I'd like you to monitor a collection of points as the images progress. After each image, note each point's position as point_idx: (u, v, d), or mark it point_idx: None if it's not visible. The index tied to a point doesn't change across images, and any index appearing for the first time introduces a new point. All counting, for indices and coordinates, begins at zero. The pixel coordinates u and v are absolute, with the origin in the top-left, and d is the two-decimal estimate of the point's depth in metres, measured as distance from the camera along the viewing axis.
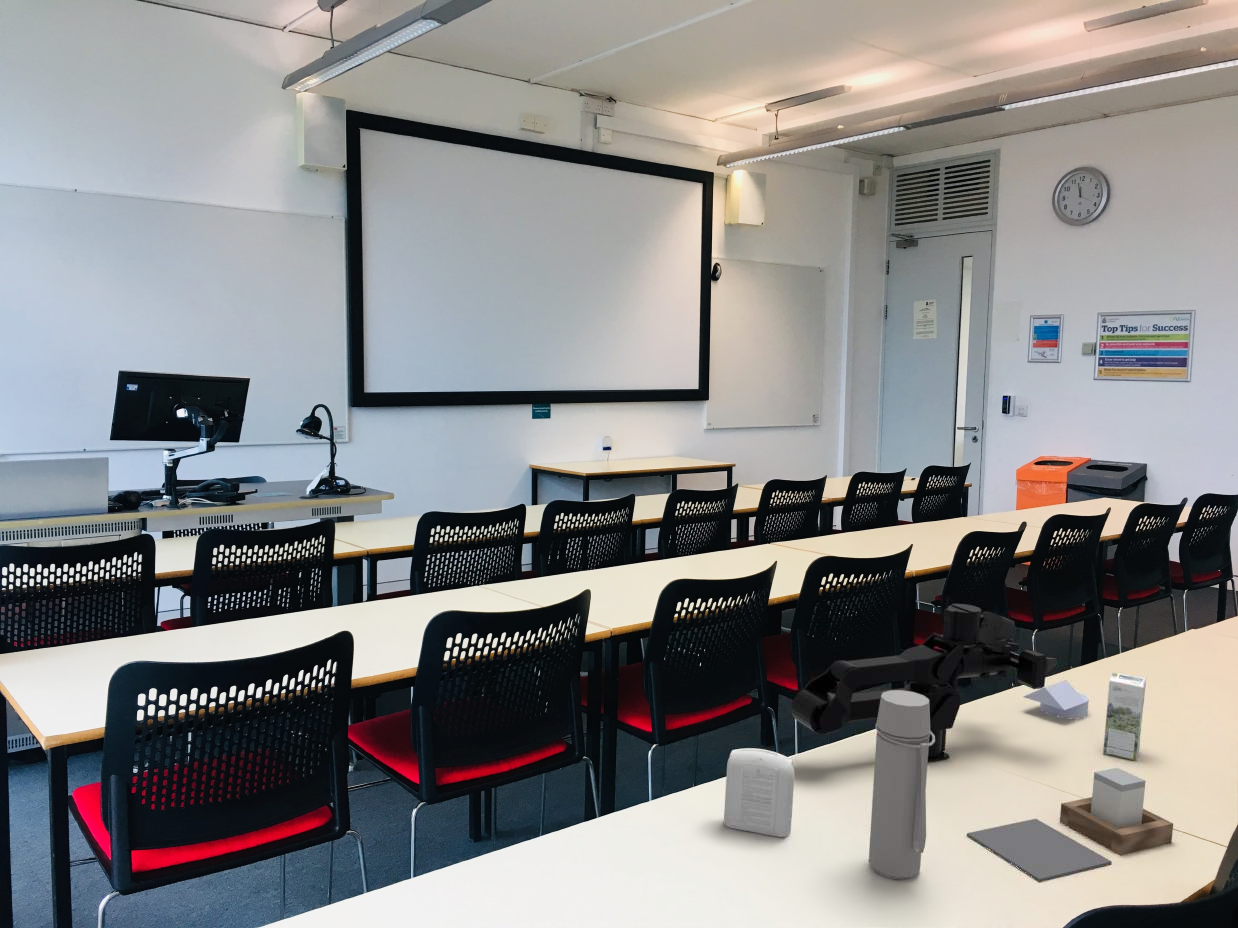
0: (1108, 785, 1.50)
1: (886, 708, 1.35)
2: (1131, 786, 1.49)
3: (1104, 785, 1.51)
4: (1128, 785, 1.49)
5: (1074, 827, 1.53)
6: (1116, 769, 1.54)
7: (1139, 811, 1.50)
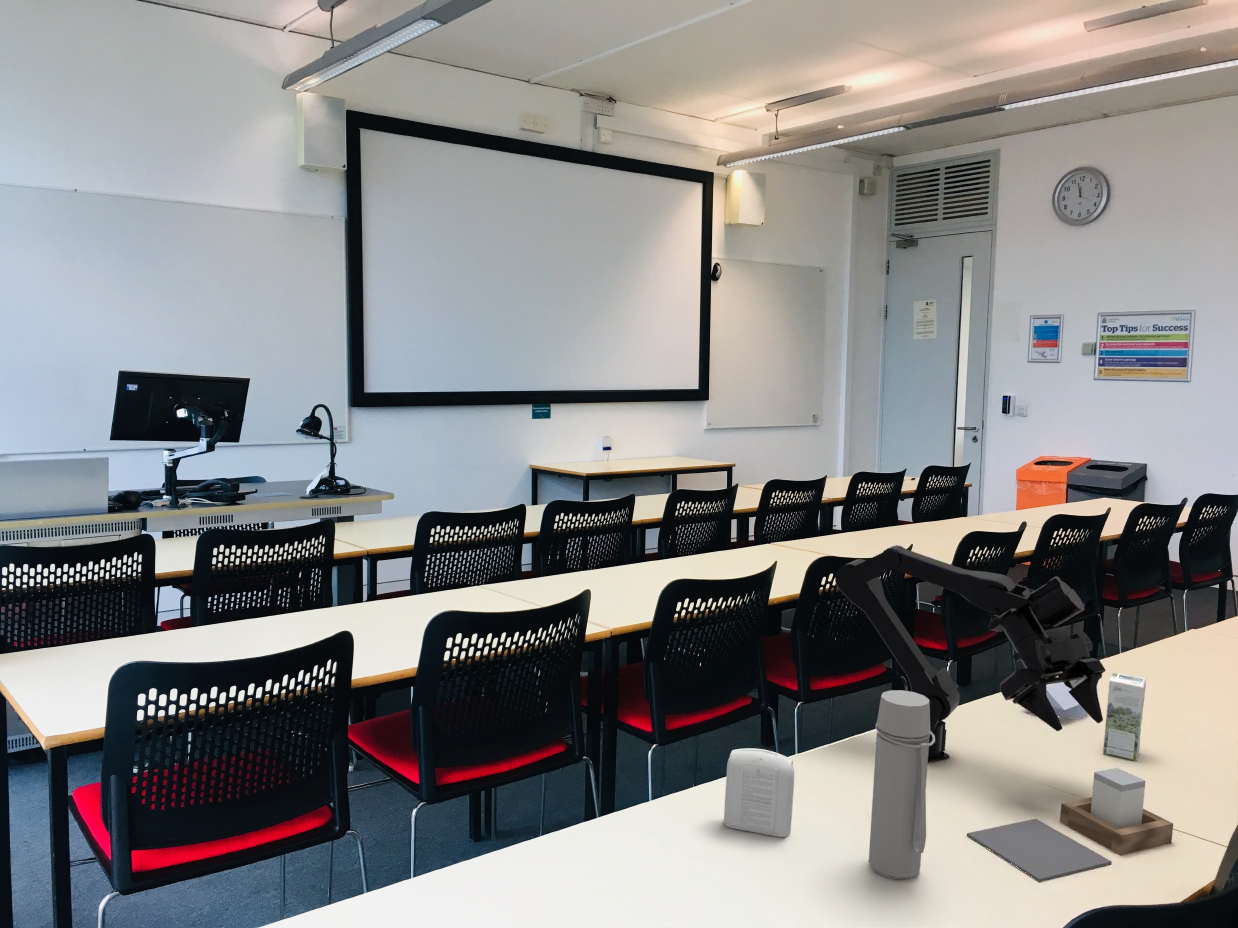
0: (1108, 785, 1.50)
1: (886, 708, 1.35)
2: (1131, 786, 1.49)
3: (1104, 785, 1.51)
4: (1128, 785, 1.49)
5: (1074, 827, 1.53)
6: (1116, 769, 1.54)
7: (1139, 811, 1.50)
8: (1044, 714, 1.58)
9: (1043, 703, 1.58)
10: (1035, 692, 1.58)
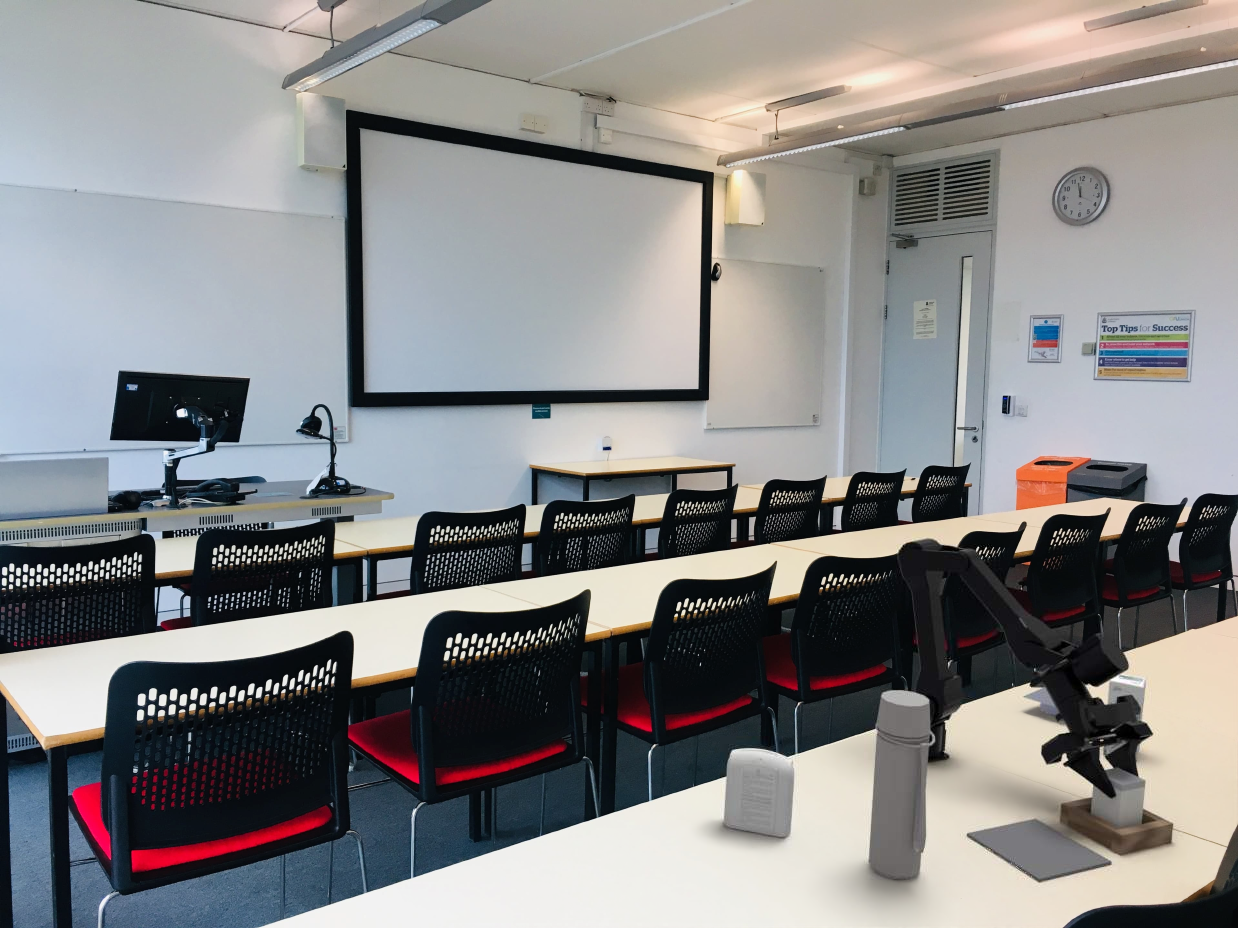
0: None
1: (886, 708, 1.35)
2: (1131, 786, 1.49)
3: None
4: (1128, 785, 1.49)
5: (1074, 827, 1.53)
6: (1116, 769, 1.54)
7: (1139, 811, 1.50)
8: (1097, 780, 1.51)
9: (1096, 768, 1.50)
10: (1088, 756, 1.51)
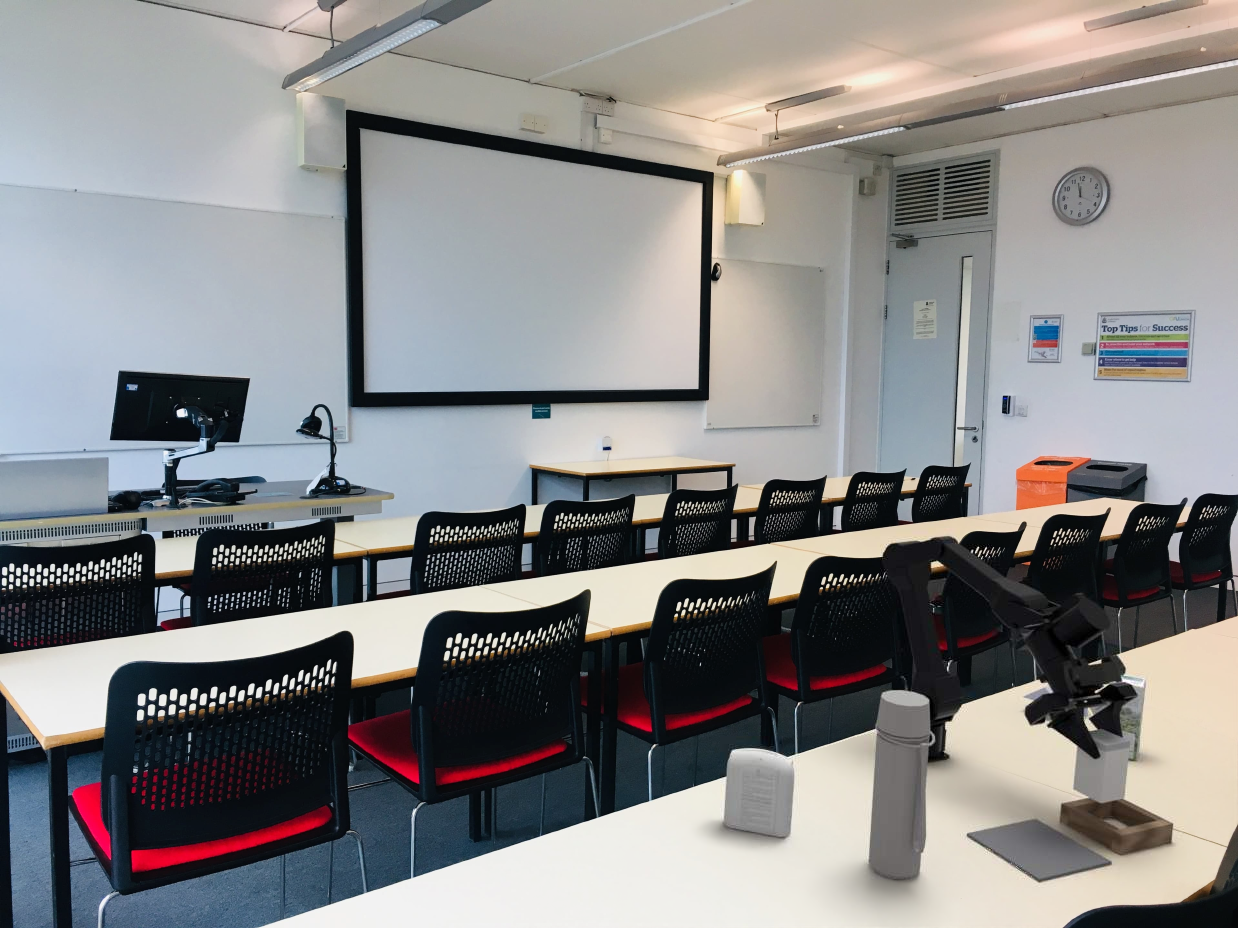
0: None
1: (886, 708, 1.35)
2: (1115, 746, 1.47)
3: None
4: (1113, 745, 1.46)
5: (1074, 827, 1.53)
6: (1100, 730, 1.52)
7: (1123, 772, 1.48)
8: (1081, 740, 1.48)
9: (1080, 729, 1.48)
10: (1072, 717, 1.49)
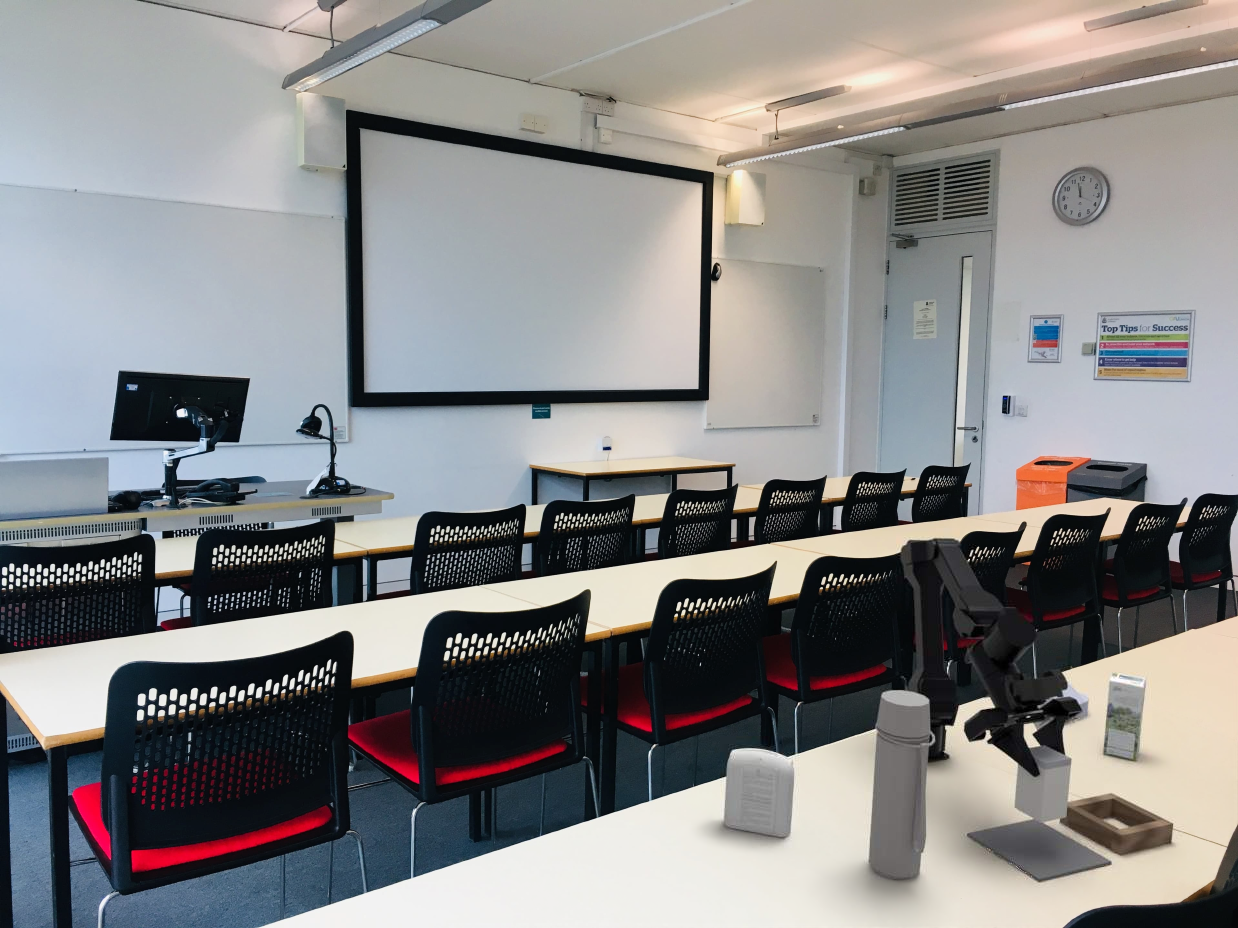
0: None
1: (886, 708, 1.35)
2: (1055, 764, 1.42)
3: None
4: (1052, 763, 1.42)
5: (1074, 827, 1.53)
6: (1043, 747, 1.47)
7: (1065, 790, 1.43)
8: (1021, 757, 1.44)
9: (1020, 746, 1.43)
10: (1011, 733, 1.44)
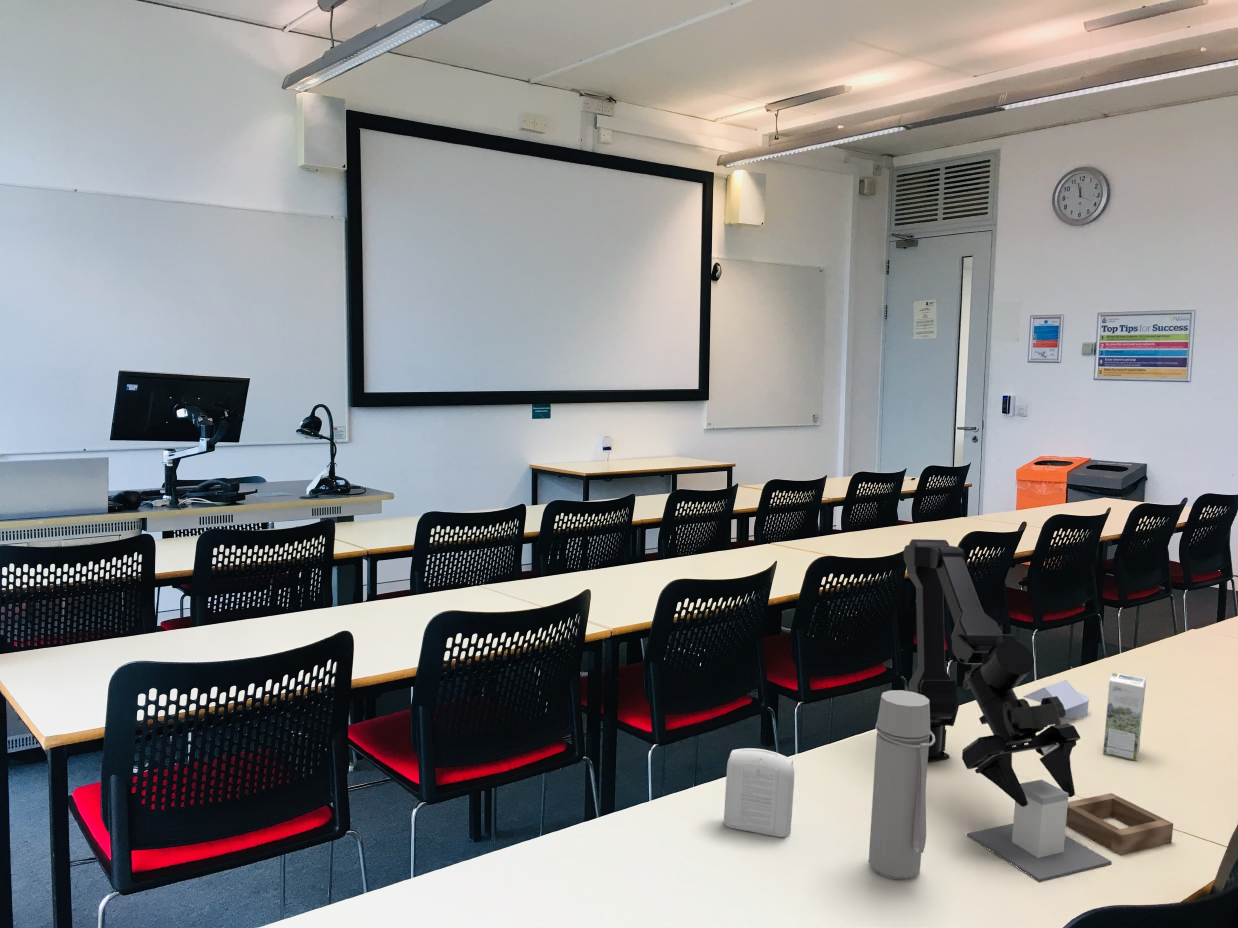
0: (1030, 798, 1.44)
1: (886, 708, 1.35)
2: (1052, 799, 1.43)
3: (1026, 798, 1.45)
4: (1050, 798, 1.42)
5: (1074, 827, 1.53)
6: (1040, 781, 1.48)
7: (1062, 825, 1.44)
8: (1009, 787, 1.43)
9: (1008, 775, 1.43)
10: (999, 762, 1.44)
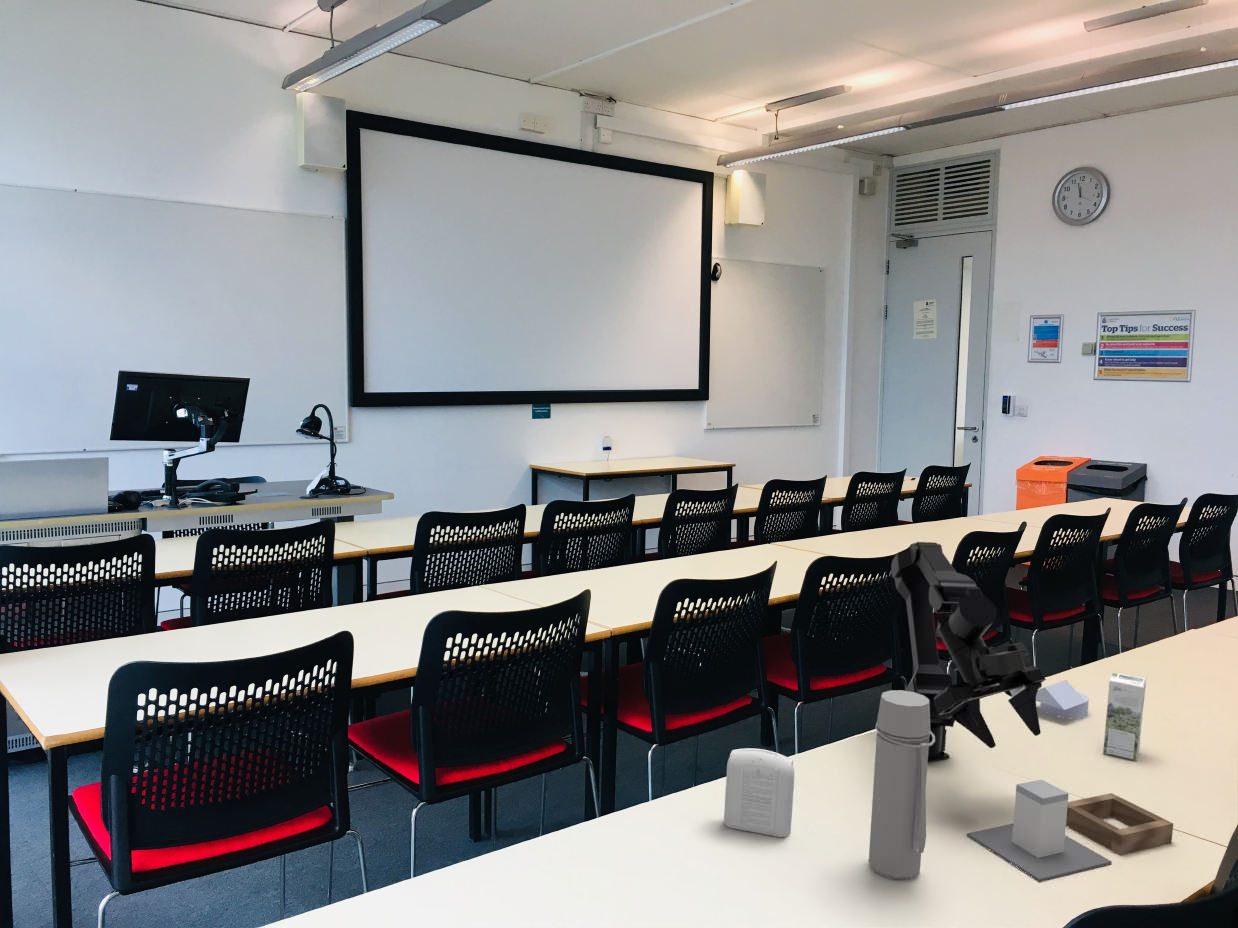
0: (1030, 798, 1.44)
1: (886, 708, 1.35)
2: (1052, 799, 1.43)
3: (1026, 798, 1.45)
4: (1050, 798, 1.42)
5: (1074, 827, 1.53)
6: (1040, 781, 1.48)
7: (1062, 825, 1.44)
8: (977, 730, 1.52)
9: (976, 720, 1.52)
10: (968, 708, 1.52)
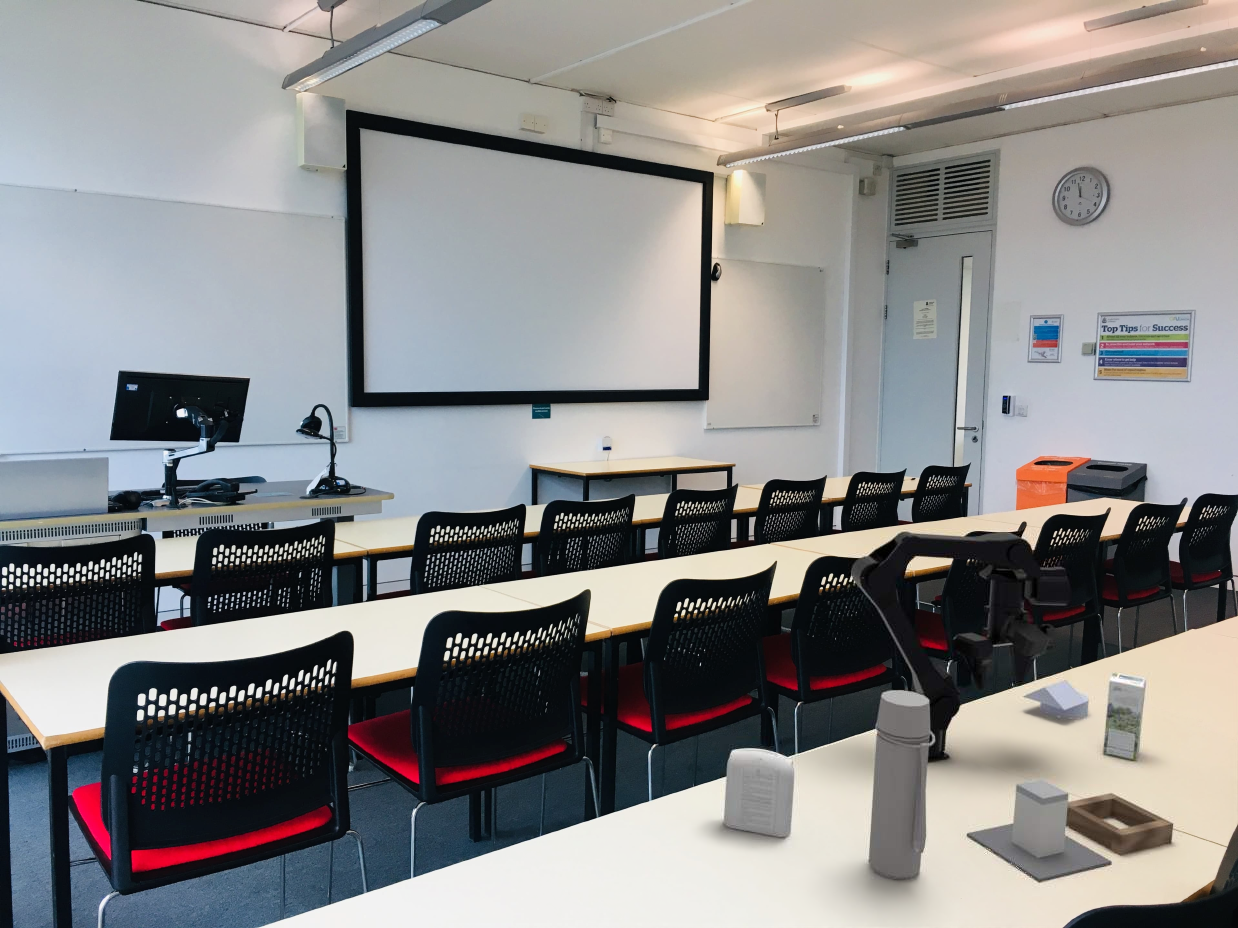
0: (1030, 798, 1.44)
1: (886, 708, 1.35)
2: (1052, 799, 1.43)
3: (1026, 798, 1.45)
4: (1050, 798, 1.42)
5: (1074, 827, 1.53)
6: (1040, 781, 1.48)
7: (1062, 825, 1.44)
8: (976, 674, 1.77)
9: (980, 669, 1.75)
10: None
